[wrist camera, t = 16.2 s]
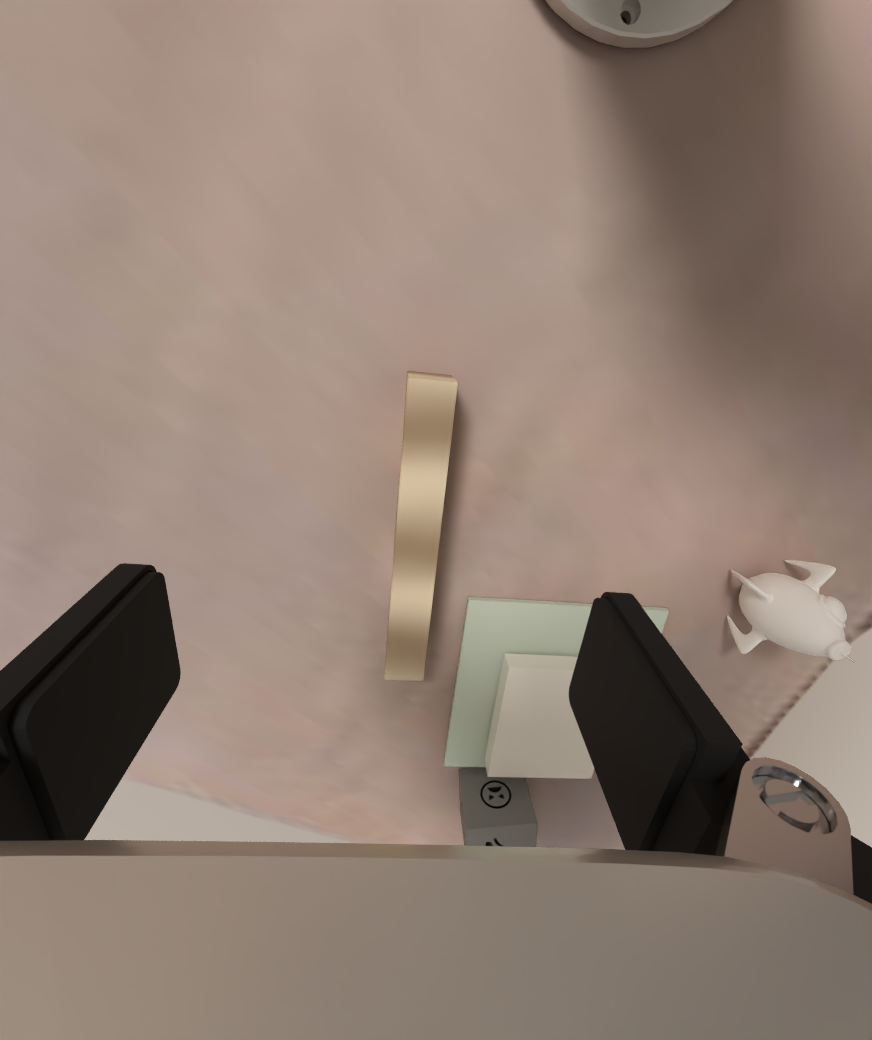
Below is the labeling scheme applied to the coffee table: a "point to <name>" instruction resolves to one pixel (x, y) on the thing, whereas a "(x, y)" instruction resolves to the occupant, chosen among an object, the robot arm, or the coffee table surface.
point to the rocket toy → (793, 613)
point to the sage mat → (482, 653)
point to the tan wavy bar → (418, 520)
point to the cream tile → (536, 721)
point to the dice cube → (495, 810)
